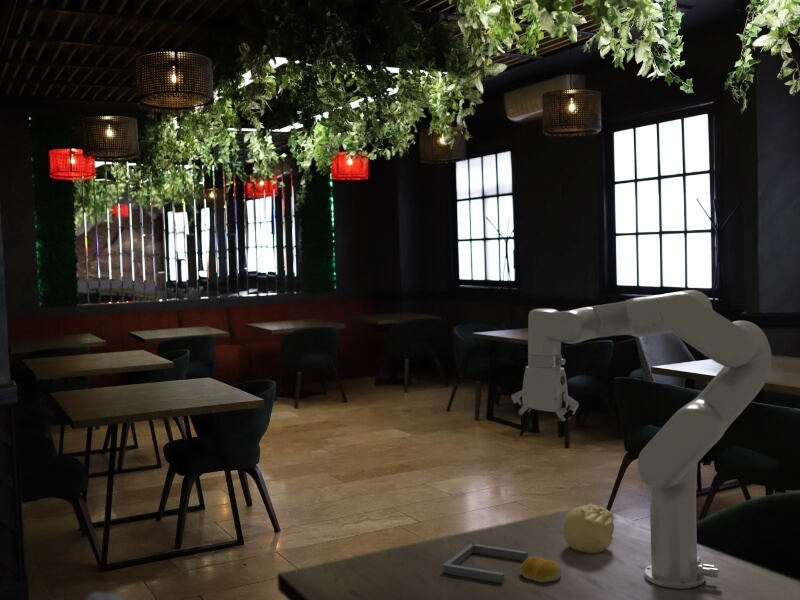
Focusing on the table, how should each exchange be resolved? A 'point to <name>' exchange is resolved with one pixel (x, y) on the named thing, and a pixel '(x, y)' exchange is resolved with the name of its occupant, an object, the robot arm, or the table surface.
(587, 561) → the table surface
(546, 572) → the bread roll
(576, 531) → the pale yellow rounded lump
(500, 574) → the bay
